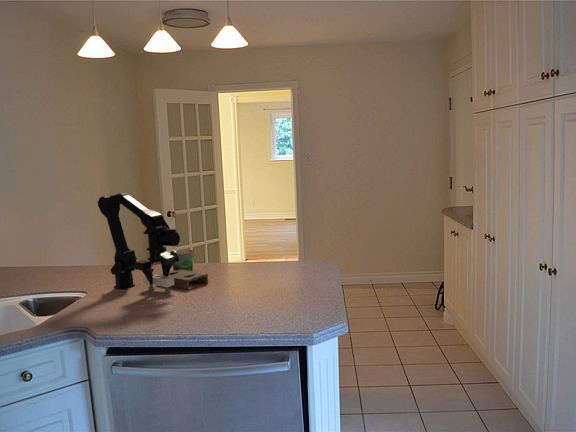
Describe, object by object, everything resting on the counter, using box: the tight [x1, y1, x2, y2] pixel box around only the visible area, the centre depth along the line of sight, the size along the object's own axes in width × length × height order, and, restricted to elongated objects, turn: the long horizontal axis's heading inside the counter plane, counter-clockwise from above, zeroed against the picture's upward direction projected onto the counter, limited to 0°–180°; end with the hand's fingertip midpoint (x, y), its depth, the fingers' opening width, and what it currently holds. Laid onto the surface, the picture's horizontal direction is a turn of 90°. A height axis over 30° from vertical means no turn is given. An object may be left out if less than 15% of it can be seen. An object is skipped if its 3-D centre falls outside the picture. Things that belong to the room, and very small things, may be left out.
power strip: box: [142, 273, 174, 294], centre depth 212 cm, size 4×14×7 cm, turn 54°
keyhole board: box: [159, 269, 209, 290], centre depth 223 cm, size 12×18×4 cm, turn 54°
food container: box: [172, 249, 195, 271], centre depth 240 cm, size 12×6×10 cm, turn 143°
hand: (158, 282), depth 212 cm, fingers open, 7 cm apart
